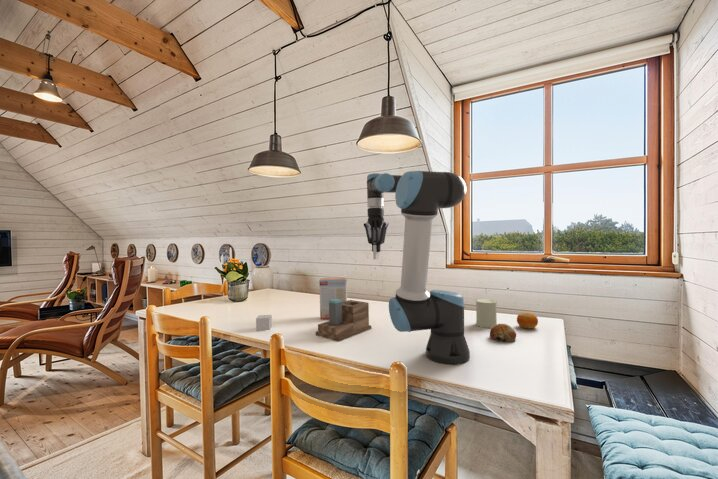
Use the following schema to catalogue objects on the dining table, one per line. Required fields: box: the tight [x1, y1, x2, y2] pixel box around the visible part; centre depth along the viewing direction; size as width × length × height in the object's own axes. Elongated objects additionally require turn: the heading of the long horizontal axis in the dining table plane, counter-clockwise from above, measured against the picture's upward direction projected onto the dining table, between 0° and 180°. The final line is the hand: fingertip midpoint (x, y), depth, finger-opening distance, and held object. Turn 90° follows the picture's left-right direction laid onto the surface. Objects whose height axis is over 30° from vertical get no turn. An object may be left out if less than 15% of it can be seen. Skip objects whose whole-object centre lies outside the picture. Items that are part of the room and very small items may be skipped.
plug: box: [328, 299, 342, 326], centre depth 143 cm, size 4×4×14 cm
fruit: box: [516, 312, 539, 329], centre depth 150 cm, size 8×8×8 cm
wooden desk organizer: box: [315, 299, 373, 342], centre depth 148 cm, size 14×22×12 cm, turn 140°
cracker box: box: [318, 277, 348, 320], centre depth 172 cm, size 14×6×21 cm, turn 88°
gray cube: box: [255, 314, 273, 332], centre depth 155 cm, size 6×6×6 cm
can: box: [475, 298, 498, 329], centre depth 154 cm, size 9×9×12 cm
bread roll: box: [489, 323, 517, 343], centre depth 135 cm, size 10×10×8 cm
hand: (376, 259), depth 151 cm, fingers closed
